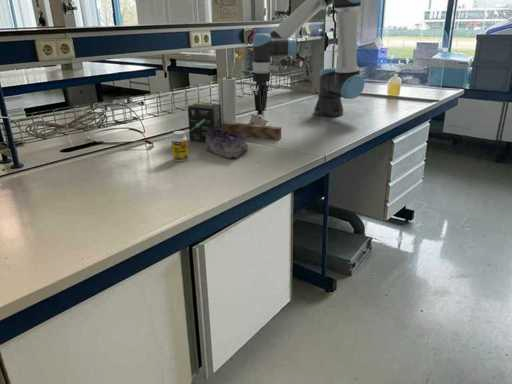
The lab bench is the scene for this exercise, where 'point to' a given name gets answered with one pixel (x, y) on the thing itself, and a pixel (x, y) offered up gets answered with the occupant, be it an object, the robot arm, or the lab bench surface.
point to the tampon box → (203, 120)
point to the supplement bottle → (179, 146)
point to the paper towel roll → (227, 99)
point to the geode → (225, 143)
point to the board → (253, 130)
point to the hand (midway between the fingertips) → (260, 124)
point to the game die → (258, 120)
